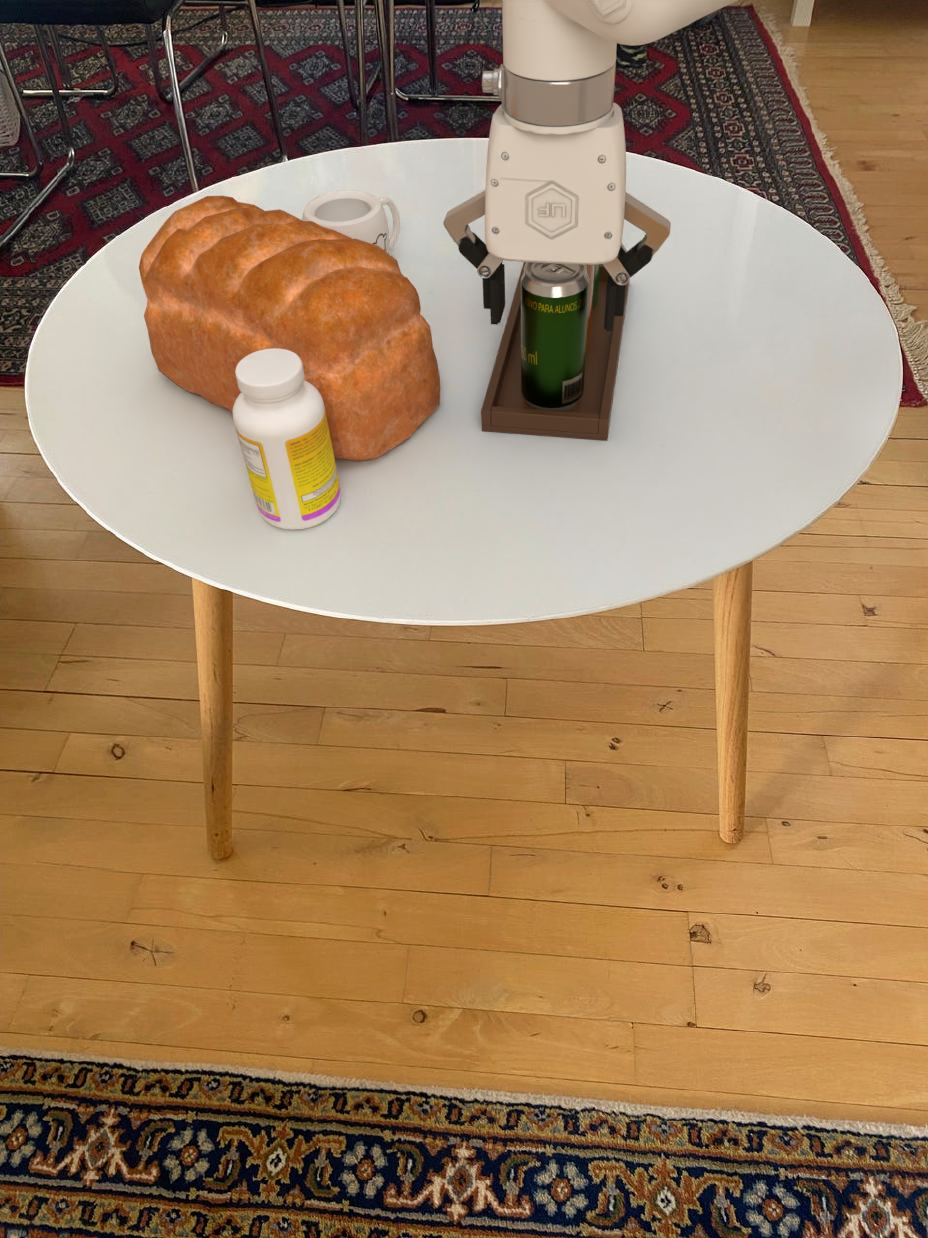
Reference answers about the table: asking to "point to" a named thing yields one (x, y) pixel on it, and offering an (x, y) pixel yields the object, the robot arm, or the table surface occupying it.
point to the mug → (355, 216)
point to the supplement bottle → (285, 440)
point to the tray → (594, 408)
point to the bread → (291, 317)
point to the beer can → (553, 334)
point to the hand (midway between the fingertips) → (553, 318)
